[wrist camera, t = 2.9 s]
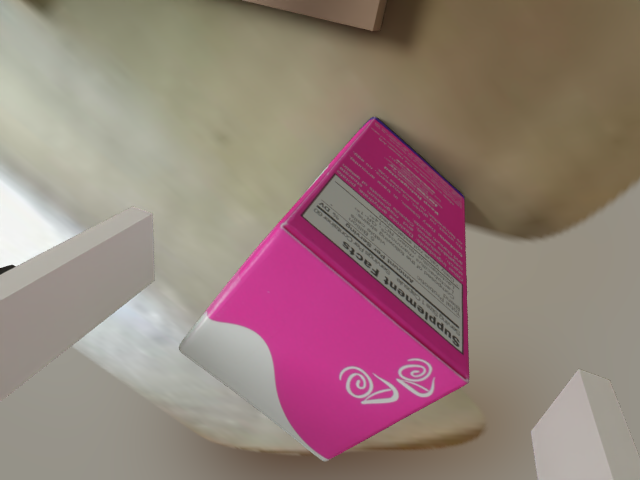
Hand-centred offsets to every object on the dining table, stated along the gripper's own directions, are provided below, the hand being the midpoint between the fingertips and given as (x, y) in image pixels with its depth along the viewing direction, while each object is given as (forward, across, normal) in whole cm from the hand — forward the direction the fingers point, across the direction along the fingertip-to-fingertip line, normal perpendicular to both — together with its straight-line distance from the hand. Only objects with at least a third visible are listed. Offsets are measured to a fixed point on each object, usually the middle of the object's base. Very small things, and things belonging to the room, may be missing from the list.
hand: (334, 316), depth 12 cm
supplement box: (+9, 0, 0) cm, 9 cm away
